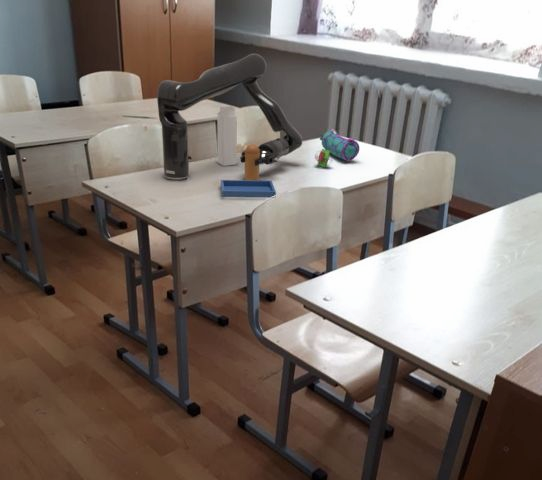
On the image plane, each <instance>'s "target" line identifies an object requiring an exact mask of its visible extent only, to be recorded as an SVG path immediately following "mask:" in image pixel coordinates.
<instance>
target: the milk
mask: <svg viewBox="0 0 542 480" xmlns="http://www.w3.org/2000/svg"><path fill="white" fill-rule="evenodd" d="M216 119H217V121H216V122H217V124H216V125H217V127H216V128H217V129H216V130H217V131H216V132H217V133H216V134H217V139H216V140H217V141H216V143H217V145H216V147H217V157H216V158H217V160H216V161H217V163H218V164H220V165H221V166H222V167H227V166H237V153H238V152H237V150H238V149H237V145H238V144H237V143H238V142H237V141H238V115H237V112H236V111H235V106H234V105H229V106H228V105H227V106H220V107H219V112H218V113H217V117H216Z"/></svg>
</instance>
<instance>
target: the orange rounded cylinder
mask: <svg viewBox="0 0 542 480" xmlns="http://www.w3.org/2000/svg"><path fill="white" fill-rule="evenodd" d="M258 147H259V146H258V145H256V144H254V143H251V144H248V145H247V146H246V147H245V149H244V150H245V162H244V175H243V176H244V179H243V180H260V165H257V166H256V165H255V159H257V158H260V150H259V148H258Z"/></svg>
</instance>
